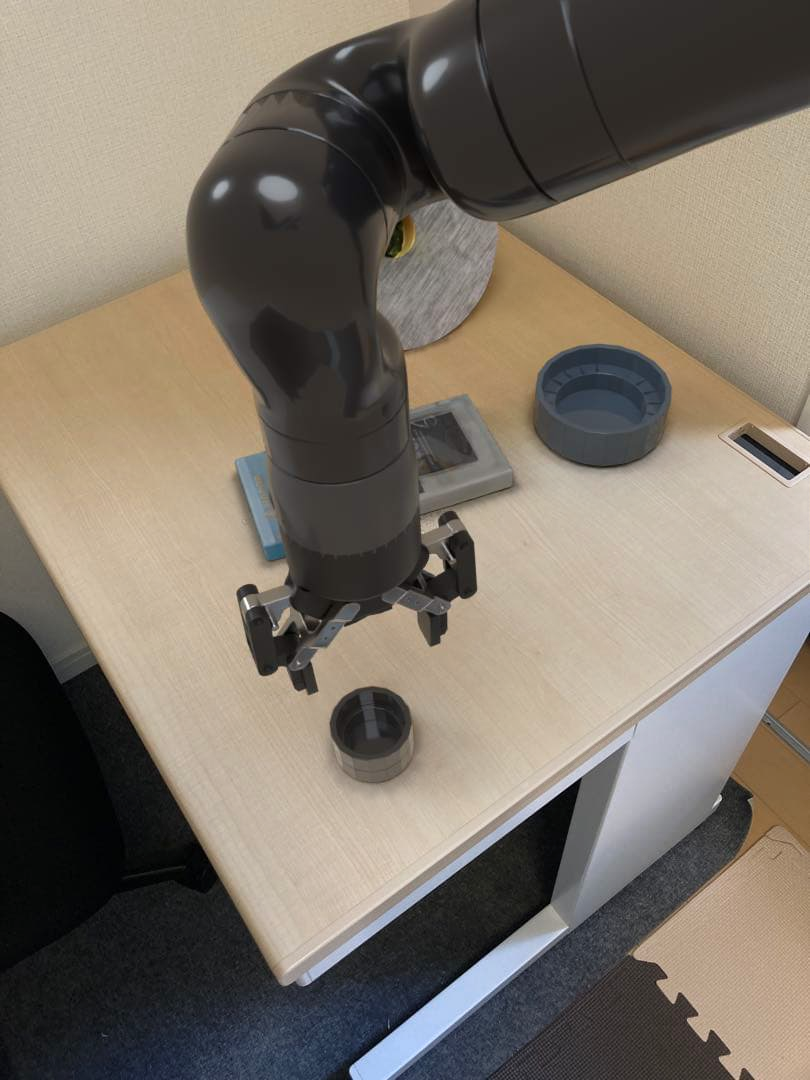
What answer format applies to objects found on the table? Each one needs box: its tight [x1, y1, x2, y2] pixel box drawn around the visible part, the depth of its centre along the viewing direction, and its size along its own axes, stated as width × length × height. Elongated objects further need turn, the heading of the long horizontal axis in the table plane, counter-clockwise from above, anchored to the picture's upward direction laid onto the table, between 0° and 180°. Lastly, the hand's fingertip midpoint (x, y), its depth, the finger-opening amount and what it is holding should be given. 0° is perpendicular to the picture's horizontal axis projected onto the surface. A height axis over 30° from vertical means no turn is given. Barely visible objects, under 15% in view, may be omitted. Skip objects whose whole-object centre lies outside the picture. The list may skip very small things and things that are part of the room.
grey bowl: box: [532, 343, 673, 467], centre depth 92 cm, size 13×13×5 cm
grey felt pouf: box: [377, 199, 499, 351], centre depth 105 cm, size 25×18×25 cm
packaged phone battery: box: [234, 393, 514, 562], centre depth 90 cm, size 12×2×25 cm
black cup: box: [329, 685, 415, 784], centre depth 71 cm, size 6×6×4 cm
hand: (370, 658), depth 59 cm, fingers open, 8 cm apart
